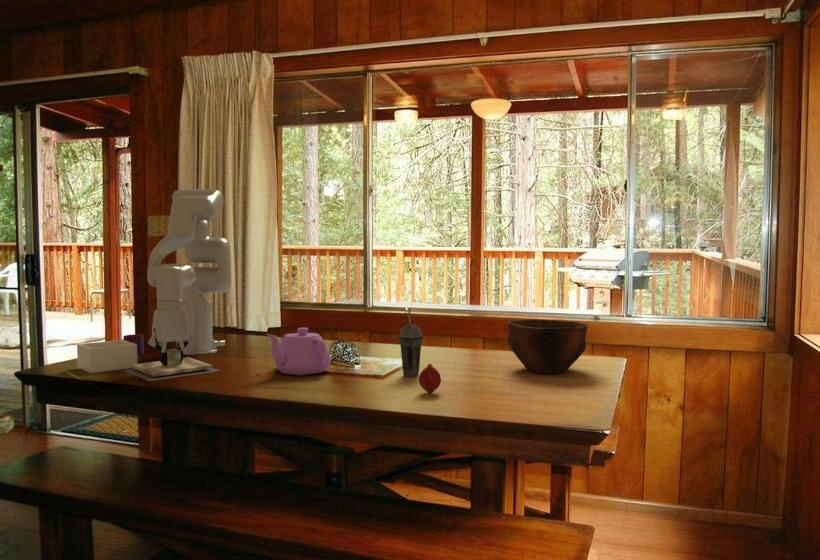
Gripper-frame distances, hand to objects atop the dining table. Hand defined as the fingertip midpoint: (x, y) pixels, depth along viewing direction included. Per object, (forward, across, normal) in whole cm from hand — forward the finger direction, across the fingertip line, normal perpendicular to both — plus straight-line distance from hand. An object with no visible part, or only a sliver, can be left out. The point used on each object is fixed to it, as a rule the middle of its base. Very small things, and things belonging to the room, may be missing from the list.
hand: (171, 363), depth 202 cm
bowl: (+3, -87, +78) cm, 117 cm away
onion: (+2, -39, +76) cm, 86 cm away
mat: (+3, 0, 0) cm, 3 cm away
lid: (+1, 0, 0) cm, 1 cm away
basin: (+3, +13, -20) cm, 24 cm away
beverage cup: (+3, -51, +55) cm, 75 cm away
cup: (+4, -2, -44) cm, 44 cm away
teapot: (+3, -28, +28) cm, 40 cm away
